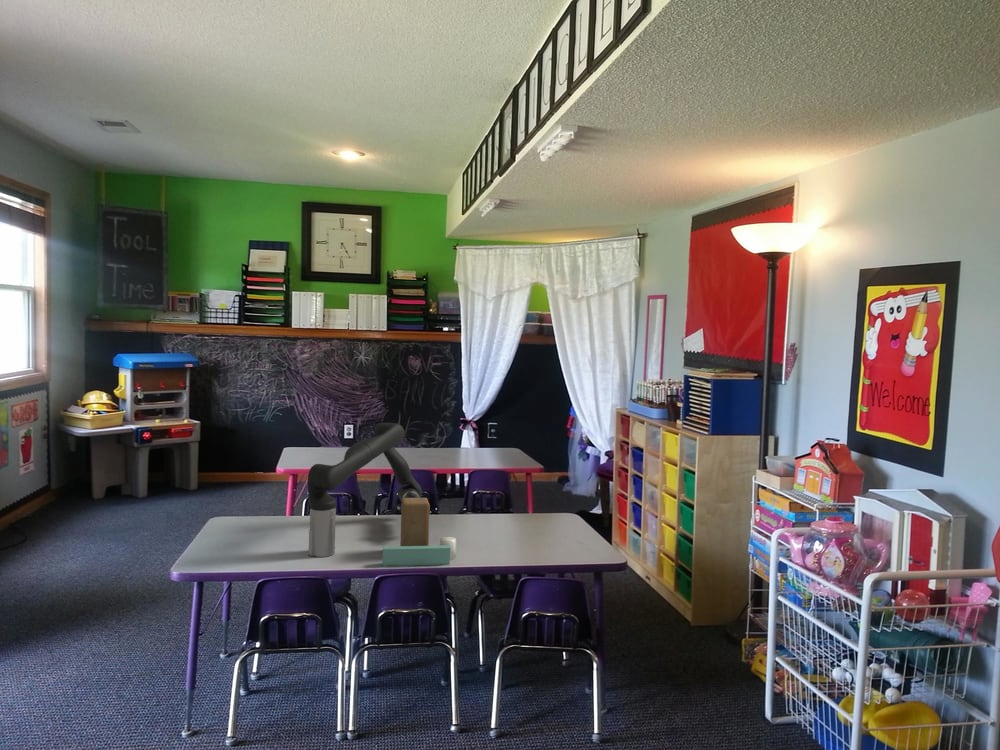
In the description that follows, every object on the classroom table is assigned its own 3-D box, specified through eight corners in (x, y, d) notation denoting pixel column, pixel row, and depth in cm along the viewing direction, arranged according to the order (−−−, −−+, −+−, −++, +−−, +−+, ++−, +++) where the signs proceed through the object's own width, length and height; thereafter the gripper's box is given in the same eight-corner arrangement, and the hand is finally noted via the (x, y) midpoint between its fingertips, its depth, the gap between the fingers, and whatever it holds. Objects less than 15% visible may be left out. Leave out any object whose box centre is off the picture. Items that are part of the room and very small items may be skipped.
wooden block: (401, 556, 258) (403, 503, 257) (400, 548, 268) (401, 497, 267) (428, 556, 260) (430, 503, 259) (426, 547, 270) (427, 497, 269)
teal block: (382, 565, 248) (382, 549, 247) (382, 563, 250) (382, 546, 250) (449, 564, 252) (450, 547, 252) (448, 561, 255) (449, 545, 254)
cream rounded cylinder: (440, 560, 256) (440, 541, 255) (438, 555, 262) (439, 536, 261) (456, 560, 257) (457, 541, 256) (454, 554, 263) (455, 536, 262)
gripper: (395, 493, 290) (397, 504, 273) (427, 492, 292) (430, 503, 275) (395, 510, 290) (396, 522, 273) (427, 510, 293) (430, 522, 276)
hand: (413, 513), depth 274 cm, fingers closed
